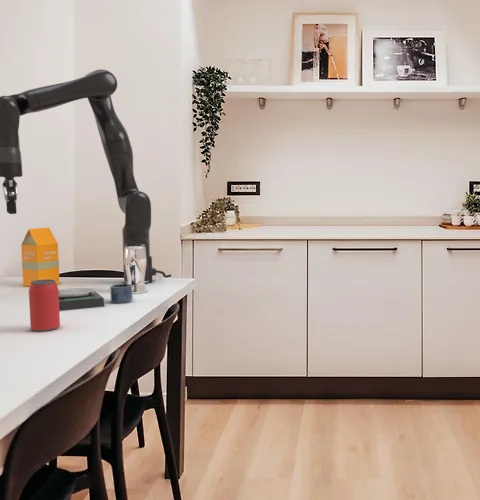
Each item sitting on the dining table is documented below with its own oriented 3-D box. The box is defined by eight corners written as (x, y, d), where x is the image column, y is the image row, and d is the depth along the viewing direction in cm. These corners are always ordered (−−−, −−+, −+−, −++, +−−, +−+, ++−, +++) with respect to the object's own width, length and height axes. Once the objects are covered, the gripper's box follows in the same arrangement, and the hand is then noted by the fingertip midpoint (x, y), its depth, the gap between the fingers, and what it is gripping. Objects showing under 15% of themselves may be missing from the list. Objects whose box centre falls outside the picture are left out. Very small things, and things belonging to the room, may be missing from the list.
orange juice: (22, 285, 214) (19, 228, 212) (44, 282, 222) (41, 227, 220) (39, 287, 211) (36, 229, 209) (60, 283, 219) (57, 227, 217)
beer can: (51, 324, 157) (48, 278, 156) (65, 328, 153) (63, 280, 152) (25, 329, 152) (22, 281, 150) (39, 333, 148) (37, 284, 147)
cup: (129, 299, 192) (129, 283, 191) (134, 302, 186) (134, 286, 186) (108, 301, 188) (108, 284, 188) (113, 304, 183) (112, 288, 182)
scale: (94, 298, 193) (93, 289, 192) (104, 306, 180) (103, 296, 180) (48, 302, 186) (48, 293, 185) (55, 311, 173) (55, 301, 173)
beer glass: (151, 290, 206) (150, 246, 205) (138, 294, 200) (136, 248, 198) (134, 289, 208) (133, 245, 207) (120, 292, 202) (119, 247, 200)
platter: (91, 289, 191) (91, 286, 191) (98, 294, 182) (97, 292, 182) (52, 292, 185) (52, 289, 185) (57, 298, 176) (57, 295, 176)
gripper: (23, 161, 188) (26, 214, 190) (20, 162, 200) (23, 211, 202) (-5, 161, 184) (-1, 214, 186) (-7, 162, 196) (-3, 212, 198)
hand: (11, 213), depth 194 cm, fingers open, 8 cm apart
